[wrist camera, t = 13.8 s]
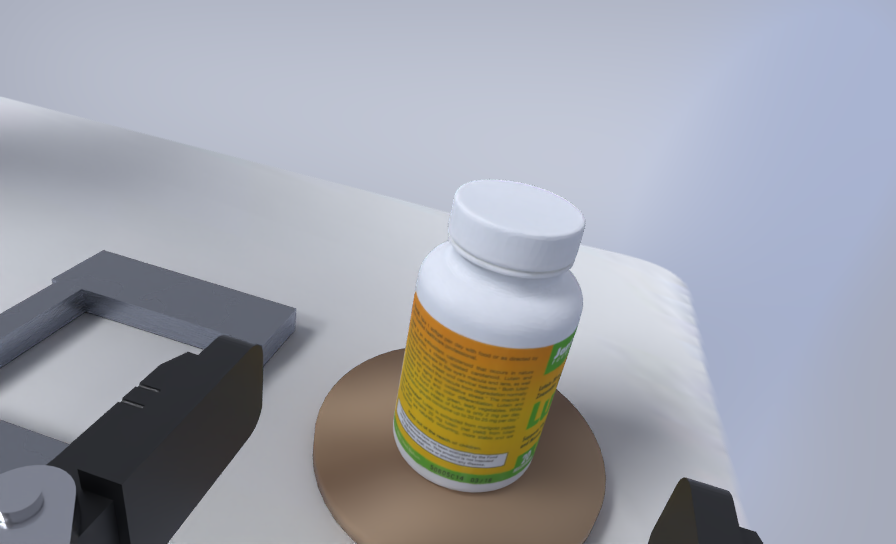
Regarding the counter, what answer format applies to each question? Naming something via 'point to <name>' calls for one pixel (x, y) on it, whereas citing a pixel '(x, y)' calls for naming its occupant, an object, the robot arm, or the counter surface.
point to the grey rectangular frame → (131, 323)
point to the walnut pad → (438, 508)
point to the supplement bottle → (489, 335)
